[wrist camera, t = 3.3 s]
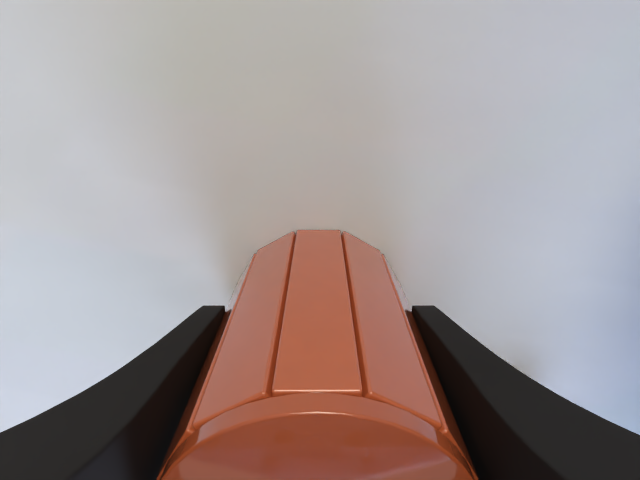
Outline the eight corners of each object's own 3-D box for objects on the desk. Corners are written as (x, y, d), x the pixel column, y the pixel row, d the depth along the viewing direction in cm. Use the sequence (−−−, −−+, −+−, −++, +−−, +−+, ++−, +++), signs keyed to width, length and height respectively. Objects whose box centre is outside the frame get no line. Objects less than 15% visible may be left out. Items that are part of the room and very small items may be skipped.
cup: (406, 229, 12) (515, 412, 5) (394, 371, 14) (462, 632, 7) (229, 229, 12) (117, 413, 5) (243, 371, 14) (173, 633, 7)
